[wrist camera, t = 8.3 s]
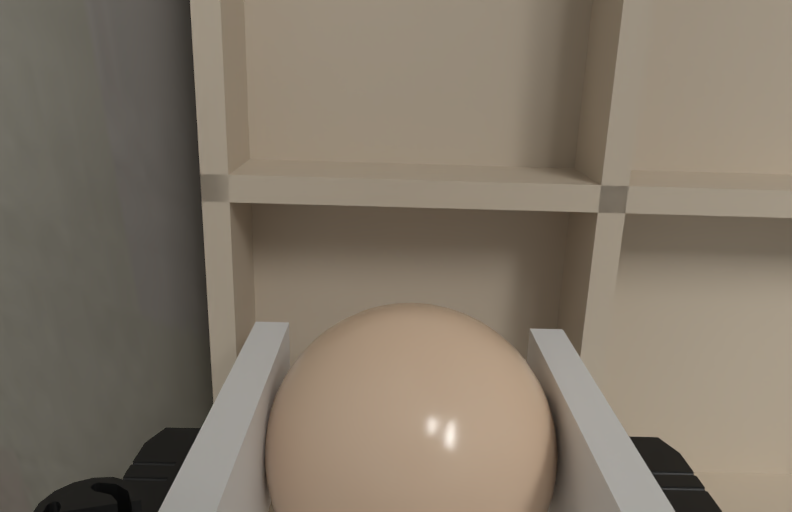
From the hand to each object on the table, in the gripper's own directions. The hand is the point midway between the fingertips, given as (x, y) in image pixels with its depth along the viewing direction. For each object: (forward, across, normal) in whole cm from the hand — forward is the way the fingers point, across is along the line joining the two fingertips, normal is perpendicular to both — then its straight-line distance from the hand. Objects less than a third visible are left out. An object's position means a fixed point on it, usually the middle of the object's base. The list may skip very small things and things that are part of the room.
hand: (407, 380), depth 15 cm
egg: (0, 0, 0) cm, 0 cm away
